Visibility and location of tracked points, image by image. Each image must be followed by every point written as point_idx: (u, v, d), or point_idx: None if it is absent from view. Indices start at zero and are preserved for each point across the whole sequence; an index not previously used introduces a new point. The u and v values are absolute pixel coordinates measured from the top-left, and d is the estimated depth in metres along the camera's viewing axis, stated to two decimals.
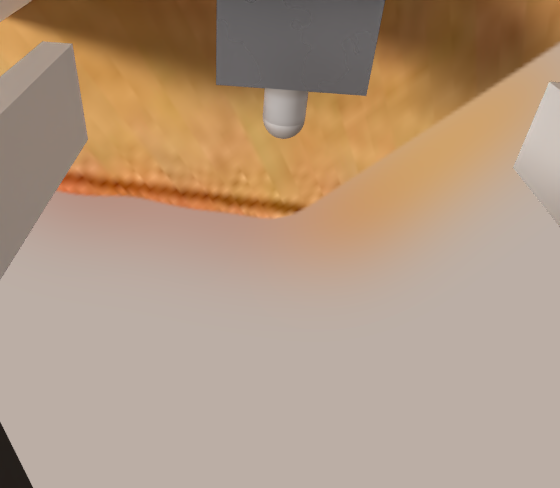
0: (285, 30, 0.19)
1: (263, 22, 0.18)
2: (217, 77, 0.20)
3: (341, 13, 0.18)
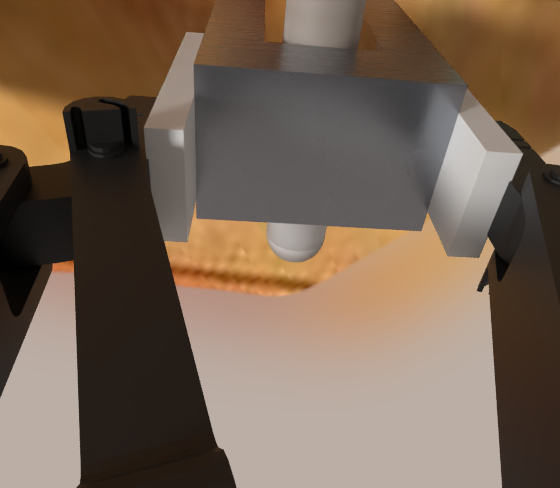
0: (302, 147, 0.12)
1: (267, 135, 0.12)
2: (198, 209, 0.13)
3: (390, 124, 0.12)
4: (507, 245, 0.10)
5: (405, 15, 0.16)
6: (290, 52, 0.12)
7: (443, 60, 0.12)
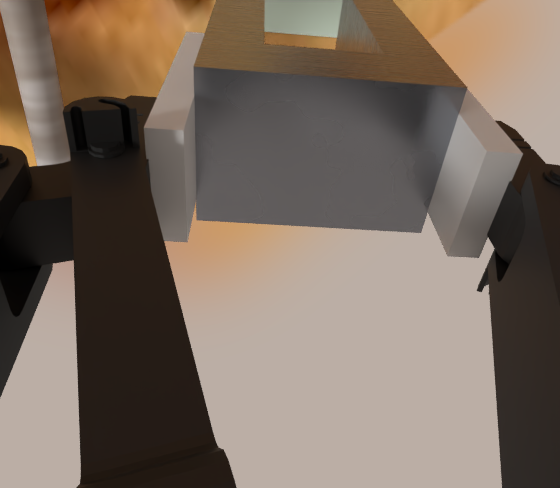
0: (302, 149, 0.12)
1: (268, 138, 0.12)
2: (198, 211, 0.13)
3: (390, 126, 0.12)
4: (507, 245, 0.10)
5: (405, 17, 0.16)
6: (290, 54, 0.12)
7: (443, 62, 0.12)
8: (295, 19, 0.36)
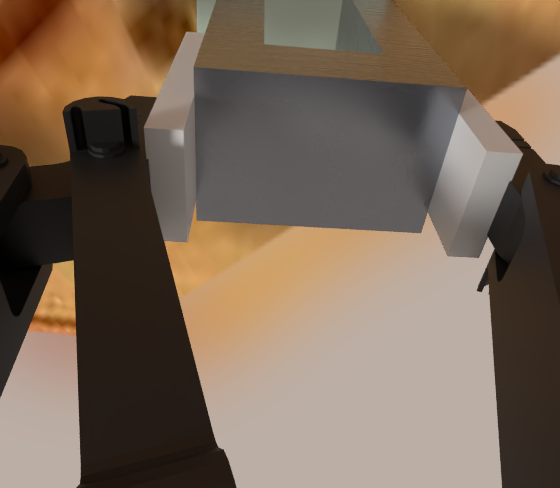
0: (302, 149, 0.12)
1: (268, 138, 0.12)
2: (198, 211, 0.13)
3: (390, 126, 0.12)
4: (507, 245, 0.10)
5: (405, 17, 0.16)
6: (290, 55, 0.12)
7: (442, 62, 0.12)
8: None
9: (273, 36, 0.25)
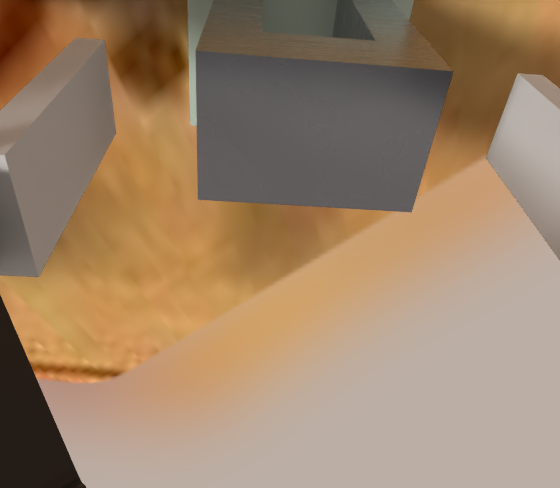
0: (298, 130, 0.13)
1: (265, 119, 0.12)
2: (199, 190, 0.14)
3: (381, 108, 0.12)
4: None
5: (397, 8, 0.17)
6: (286, 41, 0.13)
7: (431, 49, 0.13)
8: None
9: None
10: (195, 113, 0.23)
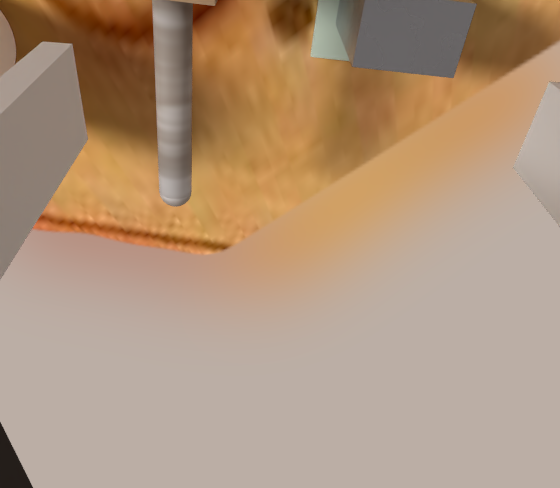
0: (405, 30, 0.28)
1: (391, 24, 0.27)
2: (353, 61, 0.29)
3: (443, 21, 0.27)
4: None
5: None
6: None
7: None
8: None
9: None
10: (315, 49, 0.38)
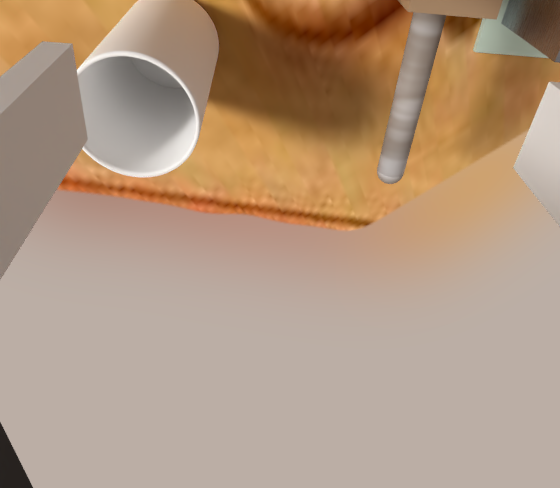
0: None
1: None
2: (557, 57, 0.34)
3: None
4: None
5: None
6: None
7: None
8: None
9: None
10: (479, 45, 0.44)
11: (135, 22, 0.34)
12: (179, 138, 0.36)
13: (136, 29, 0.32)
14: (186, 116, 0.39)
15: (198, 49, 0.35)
